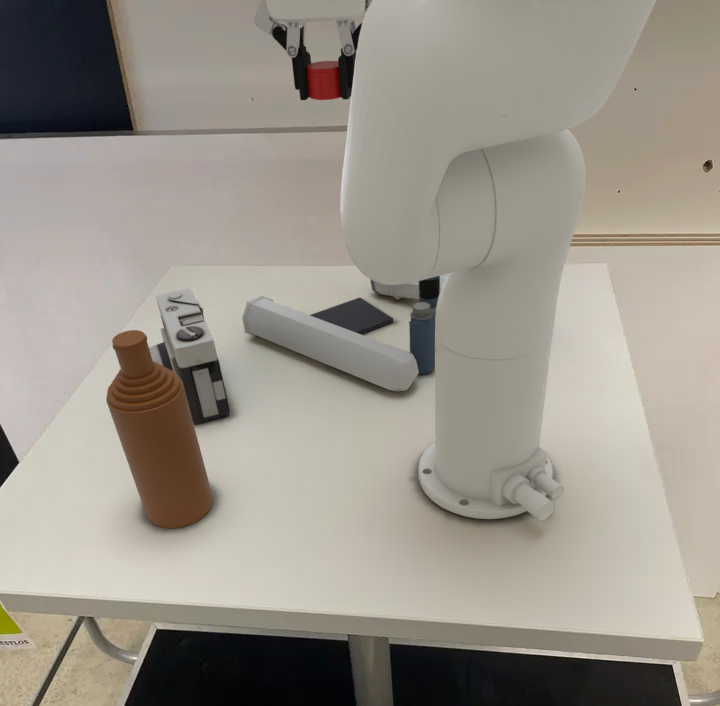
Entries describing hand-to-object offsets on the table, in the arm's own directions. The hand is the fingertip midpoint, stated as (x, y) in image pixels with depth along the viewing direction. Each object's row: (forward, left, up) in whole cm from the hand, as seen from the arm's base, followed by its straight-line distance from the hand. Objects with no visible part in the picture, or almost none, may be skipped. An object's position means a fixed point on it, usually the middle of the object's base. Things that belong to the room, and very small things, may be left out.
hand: (327, 94), depth 77 cm
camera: (-2, +24, -27) cm, 36 cm away
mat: (0, -1, -27) cm, 27 cm away
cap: (0, 0, 0) cm, 0 cm away
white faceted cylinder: (-7, -13, -27) cm, 31 cm away
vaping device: (-15, -2, -27) cm, 31 cm away
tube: (-7, +6, -27) cm, 29 cm away
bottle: (-20, +32, -27) cm, 46 cm away
